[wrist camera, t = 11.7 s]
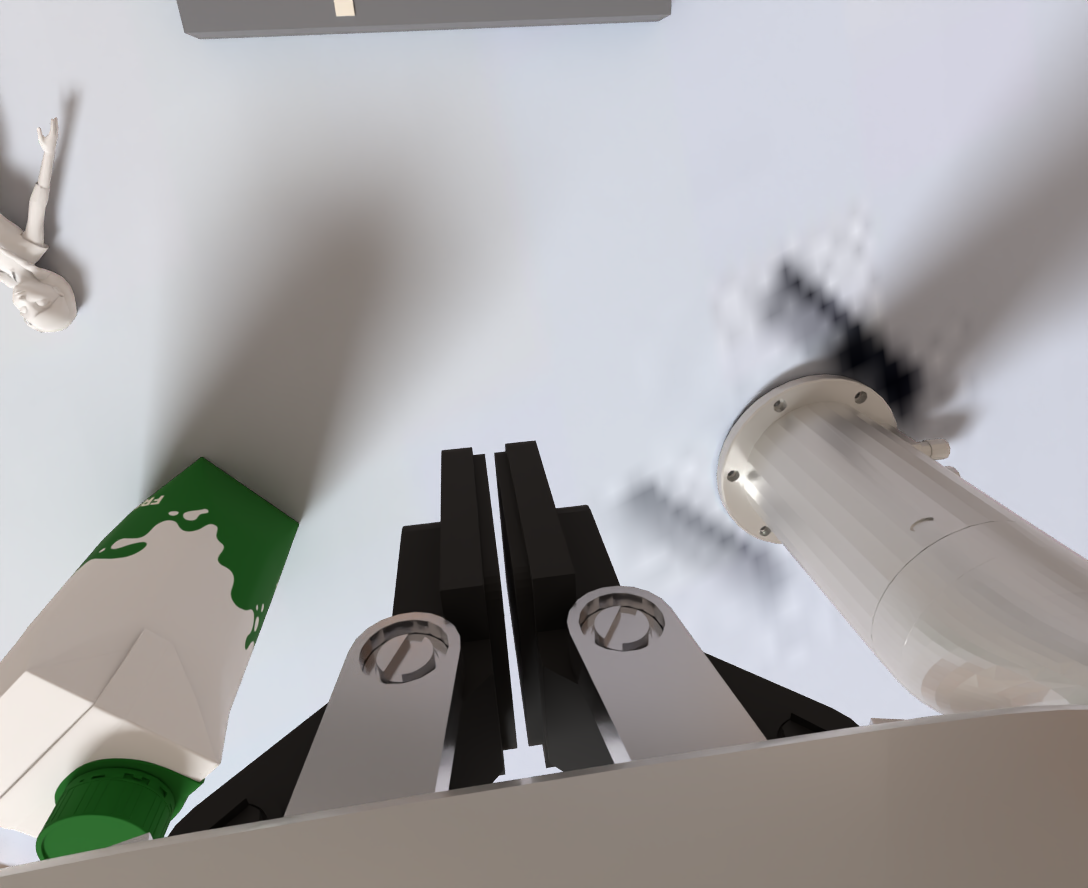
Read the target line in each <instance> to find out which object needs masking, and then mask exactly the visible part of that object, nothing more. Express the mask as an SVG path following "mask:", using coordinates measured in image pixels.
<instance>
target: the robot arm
mask: <svg viewBox="0 0 1088 888" xmlns="http://www.w3.org/2000/svg"><path fill="white" fill-rule="evenodd" d="M505 451H506V452H498V453H494V455H495V467H496V477H497V488H498V499H499V509H500V520H501V530H502V541H503V552H504V562H505V573H506V583H507V591H508V599H509V606H510V613H511V621H512V628H513V635H514V643H515V650H516V657H517V664H518V672H519V679H520V686H521V694H522V701H523V708H524V715H525V723H526V730H527V737H528V744H529V746H534V745H541V744H542V745H543V751H544V757H545V764H546V768H549V767H557V768H558V769H560V770H562V771H563V772H560V773H554V774H548V775H541V776H535V777H529V778H522V779H516V780H510V781H504V782H497V783H493V782H494V780H495V779H496V778H497V777H498V776H499V775H505V767H504V756H503V750H508V749H515V748H517V740H516V730H515V720H514V710H513V700H512V690H511V680H510V670H509V660H508V649H507V639H506V629H505V619H504V609H503V599H502V590H501V581H500V572H499V564H498V556H497V548H496V540H495V532H494V524H493V516H492V508H491V500H490V492H489V484H488V476H487V468H486V460H485V454H479V455H473V452H472V447H470V448H460V449H451V450H442V452H441V522H435V523H427V524H418V525H410V526H404V527H403V528H402V534H401V543H400V552H399V561H398V570H397V579H396V588H395V597H394V606H393V614H392V617H389V618H386V619H383V620H381V621H379V622H378V623H376V624H374V625H373V626H371V627H369V628H367V629H366V630H365V631H364V632H363V633H362V634H361V635H360V636H359V637H358V638H357V639H356V640H355V642H354V643H353V645H352V647H351V648H350V650H349V652H348V654H347V657H346V659H345V662H344V664H343V667H342V669H341V672H340V674H339V677H338V680H337V682H336V685H335V687H334V690H333V692H332V695H331V697H330V700H329V702H328V703H327V704H326V705H325V706H323V707H322V708H321V709H319V710H318V711H317V712H316V713H314V714H313V715H312V716H310V717H309V718H308V719H307V720H305V721H304V722H303V723H302V724H300V725H299V726H298V727H296V728H295V729H294V730H293V731H291V732H290V733H289V734H288V735H286V736H285V737H284V738H282V739H281V740H280V741H279V742H277V743H276V744H275V745H273V746H272V747H271V748H270V749H268V750H267V751H266V752H265V753H263V754H262V755H261V756H259V757H258V758H257V759H256V760H254V761H253V762H252V763H251V764H249V765H248V766H247V767H245V768H244V769H243V770H242V771H240V772H239V773H238V774H236V775H235V776H234V777H233V778H231V779H230V780H229V781H228V782H226V783H225V784H224V785H222V786H221V787H220V788H219V789H217V790H216V791H215V792H214V793H212V794H211V795H210V796H208V797H207V798H206V799H205V800H203V801H202V802H201V803H199V804H198V805H197V806H196V807H194V808H193V809H192V810H191V811H190V812H189V813H188V814H187V815H186V816H185V817H184V818H183V819H182V820H181V821H180V822H179V823H178V824H176V826H175V827H174V828H173V830H172V831H171V833H170V834H169V835H168V837H164V838H159V839H153V838H152V836H151V834H150V832H149V833H146V834H143V835H141V836H138V837H135V838H132V839H129V840H126V841H123V842H121V843H118V844H115V845H112V846H109V847H106V848H101V849H96V850H91V851H86V852H81V853H76V854H71V855H66V856H61V857H56V858H51V859H46V860H41V861H36V862H31V863H27V864H22V865H17V866H12V867H7V868H2V869H0V888H1088V560H1087V559H1085V558H1084V557H1082V556H1081V555H1079V554H1078V553H1076V552H1074V551H1073V550H1071V549H1070V548H1068V547H1067V546H1065V545H1064V544H1062V543H1060V542H1059V541H1057V540H1056V539H1054V538H1053V537H1051V536H1050V535H1048V534H1047V533H1045V532H1044V531H1042V530H1040V529H1039V528H1037V527H1036V526H1034V525H1033V524H1031V523H1030V522H1028V521H1026V520H1025V519H1023V518H1022V517H1020V516H1019V515H1017V514H1016V513H1014V512H1013V511H1011V510H1010V509H1008V508H1007V507H1005V506H1004V505H1002V504H1001V503H999V502H998V501H996V500H994V499H993V498H991V497H990V496H988V495H987V494H985V493H984V492H982V491H981V490H979V489H978V488H976V487H975V486H973V485H972V484H970V483H969V482H967V481H965V480H964V479H962V478H961V477H960V475H959V472H958V471H957V470H956V469H955V468H954V467H951V466H945V467H944V466H943V465H941V464H940V463H938V462H936V461H935V460H941V459H945V458H947V457H948V456H949V454H950V446H949V444H948V442H947V441H946V440H945V439H941V438H940V439H932V440H923V441H922V442H916V441H915V440H913V439H912V438H910V437H908V436H907V435H905V434H904V433H902V432H901V431H899V430H898V429H897V423H896V420H895V418H894V415H893V413H892V410H891V408H890V407H889V406H888V404H887V403H886V402H885V400H884V399H883V398H882V397H881V396H880V395H878V394H877V393H876V392H875V391H873V390H872V389H871V388H869V387H867V386H866V385H864V384H862V383H860V382H858V381H857V380H853V379H850V378H847V377H844V376H839V375H828V374H822V375H812V376H806V377H802V378H799V379H795V380H792V381H789V382H787V383H785V384H783V385H781V386H779V387H776V388H774V389H773V390H771V391H770V392H768V393H767V394H765V395H764V396H762V397H761V398H759V399H758V400H757V401H756V402H755V403H754V404H752V405H751V406H750V407H749V408H748V409H747V410H746V411H745V412H744V413H743V414H742V416H741V417H740V418H739V419H738V421H737V422H736V423H735V425H734V426H733V427H732V429H731V431H730V433H729V434H728V436H727V438H726V440H725V442H724V444H723V447H722V450H721V453H720V456H719V459H718V467H717V486H718V492H719V495H720V498H721V501H722V504H723V506H724V507H725V509H726V510H727V512H728V514H729V515H730V516H731V518H732V519H733V520H734V521H735V522H736V524H737V525H738V526H739V527H740V528H742V529H743V530H744V531H745V532H747V533H748V534H749V535H751V536H753V537H755V538H757V539H760V540H763V541H767V542H771V543H775V544H783V545H784V546H785V548H786V549H787V550H788V551H789V552H790V554H791V555H792V556H793V557H794V558H795V560H796V561H797V562H798V563H799V564H800V566H801V567H802V568H803V569H804V570H805V572H806V573H807V574H808V575H809V576H810V578H811V579H812V580H813V581H814V582H815V584H816V585H817V586H818V587H819V588H820V590H821V591H822V592H823V593H824V594H825V596H826V597H827V598H828V599H829V600H830V602H831V603H832V604H833V605H834V606H835V608H836V609H837V610H838V611H839V612H840V614H841V615H842V616H843V617H844V618H845V620H846V621H847V622H848V623H849V624H850V626H851V627H852V628H853V629H854V630H855V632H856V633H857V634H858V635H859V636H860V638H861V639H862V640H863V641H864V642H865V644H866V645H867V646H868V647H869V648H870V650H871V651H872V652H873V653H874V654H875V656H876V657H877V658H878V659H879V660H880V662H881V663H882V664H883V665H884V666H885V667H886V668H887V670H888V671H889V672H890V673H891V674H892V675H893V677H894V678H895V679H896V680H897V681H898V682H899V683H900V684H901V685H902V686H903V687H904V688H905V689H906V690H907V691H908V692H909V693H910V694H911V695H913V696H914V697H915V698H917V699H918V700H919V701H920V702H922V703H923V704H925V705H927V706H928V707H930V708H932V709H934V710H935V711H937V712H939V713H941V714H943V715H937V716H929V717H921V718H915V719H908V720H901V719H880V718H871V720H870V724H869V725H867V726H859V725H857V724H856V723H855V722H854V721H853V720H852V719H851V718H849V717H847V716H845V715H843V714H842V713H840V712H838V711H836V710H834V709H833V708H831V707H828V706H826V705H824V704H821V703H819V702H817V701H815V700H812V699H810V698H808V697H805V696H803V695H801V694H798V693H796V692H794V691H792V690H789V689H787V688H785V687H782V686H780V685H778V684H775V683H773V682H771V681H769V680H766V679H764V678H762V677H759V676H757V675H755V674H752V673H750V672H748V671H746V670H743V669H741V668H739V667H736V666H734V665H732V664H729V663H727V662H725V661H723V660H720V659H718V658H716V657H713V656H711V655H709V654H706V653H704V652H703V651H702V650H701V648H700V647H699V646H698V644H697V643H696V641H695V640H694V639H693V637H692V636H691V635H690V633H689V632H688V630H687V629H686V628H685V626H684V625H683V624H682V622H681V621H680V619H679V618H678V617H677V615H676V614H675V613H674V611H673V610H672V608H671V607H670V606H669V605H668V604H667V603H666V602H665V601H664V600H663V599H662V598H660V597H658V596H656V595H654V594H652V593H651V592H649V591H646V590H642V589H639V588H635V587H627V586H620V584H619V581H618V579H617V576H616V574H615V571H614V569H613V566H612V564H611V561H610V558H609V556H608V553H607V551H606V548H605V546H604V543H603V541H602V538H601V536H600V533H599V530H598V528H597V525H596V523H595V520H594V518H593V515H592V513H591V510H590V508H589V506H588V505H581V506H573V507H564V508H555V504H554V501H553V498H552V494H551V491H550V488H549V484H548V481H547V478H546V474H545V471H544V468H543V464H542V461H541V457H540V454H539V451H538V447H537V444H536V441H527V442H517V443H508V444H505Z"/></svg>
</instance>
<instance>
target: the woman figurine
mask: <svg viewBox="0 0 1088 888" xmlns="http://www.w3.org/2000/svg"><path fill="white" fill-rule="evenodd" d="M37 132H38V140H39V143H40V145H41V147H42V148H43V150H44V155H43V160H42V164H41V169H40V174H39V178H38V182H37V183H36V185H35V187H34V189H33V192H32V194H31V197H30V200H29V211H28V222H27V225H26V229H25V232H24V231H23V230H22V229H21V228H19V227H18V226H17V225H16V224H14V223H13V222H11V221H9V220H8V219H6V218H5V217H4V216H3V215H2V214H1V213H0V281H1V282H3V283H5V284H6V285H7V286H8V287H10V288H13V298H12V300H13V303H14V305H15V306H16V307H17V308H18V309H19V310H20V311H21V313H20V315H21V316H23V318H24V321H25V323H26V324H27V322H26V320H27V321H28V322H29V323H30V324H27V325H28V326H29V327H31V328H33V329H35V330H37V331H39V332H41V333H42V332H46V333H50V332H59V331H63V330H64V329H66V328H68V326H69V325H70V324H71V323H72V322H73V320H74V319H75V317H76V316H77V309H76V302H75V296H74V293H73V291H72V288H71V286H70V284H69V283H68V282H67V281H66V280H65V279H64V278H63V277H62V276H60V275H58V274H56V273H54V272H52V271H49V270H46V269H43V268H39V267H37V266H35V263H36V262H37V261H38V260H39V259H40V258H41V257H42V255H43V254H44V253H45V252H46V251H47V249H48V248H49V246H48V245H47V244H45V243H44V217H45V208H46V205H47V203H48V198H49V193H50V181H51V175H52V169H53V163H54V157H55V150H56V144H57V139H58V120H57V118H54V119H51V128H50V132H49V135H48V136H46V137H44V136H43V135H42V131H41V128H40V127H38V128H37ZM9 275H10V276H9Z"/></svg>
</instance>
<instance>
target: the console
mask: <svg viewBox="0 0 1088 888" xmlns="http://www.w3.org/2000/svg"><path fill="white" fill-rule="evenodd" d="M177 4H178V8H179V12H180V16H181V20H182V24H183V28H184V32H185V33H186V34H189V35H191V36H194V37H196V38H198V39H219V38H244V37H270V36H295V35H321V34H347V33H372V32H398V31H423V30H449V29H474V28H500V27H526V26H551V25H577V24H602V23H628V22H654V21H660V20H662V19H663V18H665V17H667V16H669V15H671V0H177Z"/></svg>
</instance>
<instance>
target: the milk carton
mask: <svg viewBox="0 0 1088 888" xmlns="http://www.w3.org/2000/svg"><path fill="white" fill-rule="evenodd" d="M298 526H299V523H298V522H296V521H295V520H293V519H292V518H290V517H289V516H287V515H286V514H285V513H283V512H282V511H280V510H279V509H277V508H276V507H274V506H273V505H271V504H270V503H269V502H267V501H266V500H264V499H263V498H261V497H260V496H258V495H257V494H255V493H254V492H253V491H251V490H250V489H248V488H247V487H245V486H244V485H242V484H241V483H239V482H238V481H237V480H235V479H234V478H232V477H231V476H229V475H228V474H226V473H225V472H223V471H222V470H221V469H219V468H218V467H216V466H215V465H213V464H212V463H210V462H209V461H207V460H206V459H205V458H203V457H201V458H199V459H198V460H197V461H196V462H194V463H193V464H192V465H191V466H189V467H188V468H187V469H185V470H184V471H183V472H181V473H180V474H179V475H178V476H176V477H175V478H174V479H172V480H171V481H170V482H169V483H167V484H166V485H165V486H163V487H162V488H161V489H160V490H158V491H157V492H156V493H154V494H153V495H152V496H151V497H149V498H148V499H147V500H145V501H144V502H143V503H142V504H140V505H139V506H138V507H137V508H135V509H134V510H133V511H132V512H131V513H130V514H129V515H128V516H127V517H126V518H125V519H124V520H123V521H122V522H121V523H120V524H119V525H118V526H116V527H115V528H114V529H113V530H112V531H111V532H110V533H109V534H108V535H107V536H106V537H105V538H104V539H103V540H102V541H101V542H100V544H99V545H98V546H97V547H96V548H95V549H94V551H93V552H92V553H91V554H90V555H89V556H88V558H87V559H86V560H85V561H84V562H83V563H82V565H81V566H80V567H79V568H78V569H77V570H76V572H75V573H74V574H73V575H72V576H71V577H70V579H69V580H68V581H67V582H66V583H65V584H64V586H63V587H62V588H61V589H60V590H59V591H58V593H57V594H56V595H55V596H54V597H53V598H52V600H51V601H50V602H49V603H48V604H47V605H46V607H45V608H44V609H43V610H42V611H41V612H40V614H39V615H38V616H37V617H36V618H35V619H34V621H33V622H32V623H31V624H30V625H29V626H28V628H27V629H26V631H25V632H24V633H23V635H22V636H21V637H20V639H19V640H18V641H17V643H16V644H15V645H14V646H13V647H12V649H11V650H10V651H9V652H8V654H7V655H6V656H5V657H4V659H3V660H2V661H1V663H0V827H2V828H5V829H13V830H16V831H19V832H21V833H24V834H27V835H30V836H32V837H35V838H37V841H36V852H37V855H38V857H39V859H40V860H46V859H51V858H56V857H61V856H66V855H71V854H76V853H81V852H86V851H91V850H96V849H101V848H106V847H109V846H112V845H115V844H118V843H121V842H123V841H126V840H129V839H132V838H135V837H138V836H141V835H143V834H146V833H149V832H150V834H151V836H152V838H153V839H159V838H163V837H164V835H165V833H166V830H167V828H168V826H169V823H170V821H171V820H172V819H173V818H174V817H175V816H176V815H177V814H178V813H179V811H180V810H181V809H182V807H183V805H184V803H185V802H186V800H187V798H188V796H189V795H190V794H191V793H192V792H194V791H195V790H196V789H197V788H198V787H199V786H201V785H202V784H203V783H204V780H205V777H206V776H207V775H208V774H210V773H211V772H212V771H213V770H214V769H215V768H216V767H217V766H219V765H220V763H221V758H222V752H223V746H224V741H225V735H226V729H227V723H228V718H229V713H230V710H231V707H232V704H233V702H234V699H235V696H236V694H237V691H238V688H239V686H240V683H241V680H242V678H243V675H244V672H245V670H246V667H247V664H248V662H249V659H250V657H251V654H252V651H253V649H254V646H255V643H256V641H257V638H258V635H259V633H260V630H261V627H262V625H263V622H264V619H265V617H266V614H267V611H268V609H269V606H270V603H271V601H272V598H273V595H274V592H275V590H276V587H277V584H278V582H279V579H280V576H281V573H282V570H283V568H284V565H285V562H286V559H287V556H288V554H289V551H290V548H291V545H292V543H293V540H294V537H295V534H296V531H297V529H298Z"/></svg>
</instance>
